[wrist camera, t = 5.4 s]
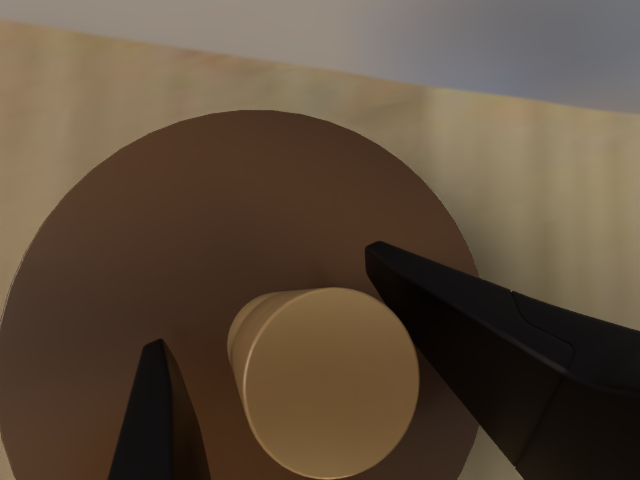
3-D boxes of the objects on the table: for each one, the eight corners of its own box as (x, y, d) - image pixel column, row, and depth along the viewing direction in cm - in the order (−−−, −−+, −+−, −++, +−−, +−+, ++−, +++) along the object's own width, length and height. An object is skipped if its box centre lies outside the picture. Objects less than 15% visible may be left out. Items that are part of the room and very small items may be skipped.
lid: (489, 540, 14) (736, 756, 8) (-3, 648, 11) (-369, 1253, 4) (454, 135, 16) (629, 19, 10) (25, 107, 13) (-193, -117, 6)
